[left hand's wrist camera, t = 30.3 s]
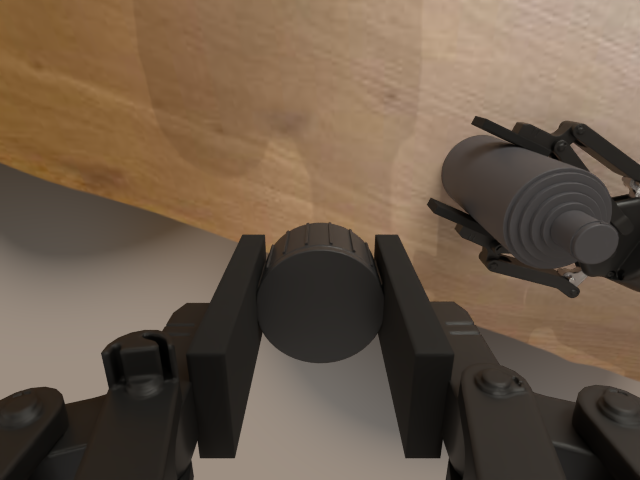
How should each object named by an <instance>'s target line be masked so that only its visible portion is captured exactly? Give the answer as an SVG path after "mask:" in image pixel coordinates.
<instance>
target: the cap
mask: <svg viewBox="0 0 640 480" xmlns="http://www.w3.org/2000/svg"><path fill="white" fill-rule="evenodd" d="M256 304H257V319H258V323H259V326H260V328H261V330H262V332H263V333H264V335H265V337H266V338H267V339H268V340H269V342H270V343H271V344H273V345H274V346H275V347H276V348H277V349H278V350H280V351H281V352H283V353H284V354H286V355H288V356H290V357H292V358H295V359H298V360H301V361H305V362H311V363H329V362H336V361H340V360H343V359H346V358H348V357H351V356H353V355H355V354H357V353H358V352H360V351H361V350H363V349H364V348H365V347H366V346H367V345H368V344H369V343H370V342H371V341H372V340H373V339H374V338H375V336H376V335H377V333H378V332H379V330H380V328H381V326H382V323H383V309H384V293H383V289H382V281H381V277H380V274H379V270H378V267H377V263H376V260H374V258H373V255H372V253H371V251H370V249H369V247H368V244H367V242H365V243H364V241H363V240H362V239H361V238H360V237H358V236H357V235H356V234H355V233H353V232H352V230H351V229H349V230H348V229H346V228H344V227H341V226H338V225H334V224H331V223H330V222H329V223H312V224H309V223H307V224H306V225H303V226H300V227H297V228H295V229H293V230H291V231H289V230H288V231H287V232H286V234H285V235H284V236H282V237H281V238H280V239H279V240H278V241H277V242H276V243H275V245H272V246H271V250H270V253H269V255H268V258H267V260H266V262H265V264H264V268H263V271H262V275H261V278H260V282H259V285H258V292H257V296H256Z"/></svg>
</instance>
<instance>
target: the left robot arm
mask: <svg viewBox="0 0 640 480" xmlns="http://www.w3.org/2000/svg"><path fill="white" fill-rule="evenodd" d="M374 260H376V263H377V267H378V270H379V274H380V277H381V281H382V289H383V293H384V309H383V323H382V326H381V328H380V330H379V332H378V336H379V340H380V345H381V349H382V354H383V358H384V363H385V368H386V372H387V376H388V381H389V386H390V390H391V395H392V399H393V404H394V408H395V413H396V417H397V422H398V427H399V431H400V435H401V440H402V445H403V449H404V454H405V458H440V456H441V449H442V442H443V441H444V444H445V447H446V450H447V453H448V456H449V461H448V468H447V475H446V480H640V398H639V397H637V396H635V395H633V394H631V393H629V392H627V391H624V390H621V389H617V388H614V387H610V386H601V385H593V386H588V387H585V388H583V389H582V390H581V391H580V392H579V393H578V397H577V400H576V402H571V401H566V400H562V399H557V398H552V397H548V396H544V395H541V394H537V393H534V392H532V389H531V387H530V386H529V384H528V383H527V381H526V380H525V379H524V378H523V377H522V376H520V375H519V374H518V373H516V372H515V371H513V370H511V369H509V368H506V367H504V366H501V365H500V364H499V363H498V361H497V360H496V358H495V356H494V355H493V353H492V351H491V350H490V348H489V347H488V345H487V343H486V342H485V340H484V338H483V337H482V335H480V332H479V330H478V329H477V327H476V325H474V322H473V320H472V319H471V317H470V315H469V314H468V312H467V311H466V310H464V309H463V308H462V307H460V306H459V305H457V304H456V303H455V302H430V301H429V299H428V297H427V295H426V293H425V291H424V289H423V287H422V284H421V282H420V280H419V278H418V276H417V274H416V272H415V270H414V268H413V266H412V263H411V261H410V259H409V257H408V255H407V253H406V251H405V249H404V247H403V245H402V242H401V240H400V238H399V236H398V235H375V252H374ZM265 262H266V247H265V235H242V237H241V239H240V241H239V243H238V245H237V247H236V249H235V251H234V254H233V256H232V258H231V260H230V262H229V264H228V266H227V268H226V270H225V272H224V275H223V277H222V279H221V281H220V283H219V285H218V287H217V289H216V291H215V293H214V296H213V298H212V300H211V302H210V303H186V304H185V305H183V306H182V307H181V308H179V309H178V310H177V311H175V312H174V313H173V314H172V316H171V318H170V319H169V321H168V323H167V324H166V327H164V329H163V331H159V330H143V331H137V332H132V333H129V334H127V335H124V336H122V337H119V338H117V339H116V340H114V341H113V342H111V343H110V344H108V345H107V346H106V348H105V349H104V350H103V351H102V353H101V355H102V359H103V364H104V368H105V373H106V377H107V382H108V386H109V390H108V392H107V394H106V395H102V396H99V397H95V398H92V399H87V400H82V401H78V402H73V403H68V404H65V403H64V399H63V396H62V394H61V393H60V392H59V391H58V390H57V389H54V388H49V387H37V388H30V389H26V390H23V391H19V392H16V393H14V394H12V395H10V396H8V397H6V398H4V399H2V400H0V480H193V478H194V475H193V468H192V461H191V458H192V456H193V452H194V449H195V447H196V443H197V441H198V447H199V454H200V458H235V455H236V450H237V446H238V441H239V437H240V432H241V428H242V423H243V419H244V414H245V410H246V405H247V400H248V396H249V391H250V387H251V382H252V378H253V373H254V369H255V364H256V360H257V355H258V351H259V346H260V341H261V337H262V330H261V328H260V326H259V323H258V319H257V304H256V296H257V292H258V285H259V282H260V278H261V275H262V271H263V268H264V264H265Z"/></svg>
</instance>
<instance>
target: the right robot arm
mask: <svg viewBox="0 0 640 480" xmlns="http://www.w3.org/2000/svg"><path fill="white" fill-rule="evenodd" d="M471 124H472V125H474V126H476V127H478V128H481V129H483V130H485V131H487V132H489V133H491V134H493V135H495V136H497V137H499V138H502V139H504V140H506V141H508V142H510V143H512V144H514V145H516V146H519V147H522V148H525V149H527V150H530V151H533V152H536V153H539V154H541V155H544V156H547V157H548V156H549V157H550V158H552V159H555V160H558V161H561V162H563V163H566V164H569V165H572V166H575V167H577V168H580V169H583V170H585V171H588V172H589V170H588V169H587V168H586V166H585V165H584V164H583V162H582V161H581V160H580V158H579V157H578V156H577V154H576V153H575V152H574V150H573V149H572V148H571V146H570V144H572V143H574V144H576V145H577V146H579V147H580V148H581V149H583V150H584V151H585V152H587V153H588V154H589V155H591V156H592V157H594V158H595V159H596V160H598V161H599V162H600V163H602V164H603V165H605V166H606V167H607V168H609V169H610V170H611V171H613V172H615V173H617V174H619V175H622V176H623V177H622V181H623V183H624V185H625V186H627V187H628V188H629V194H626V195H621V196H616V197H610V198H611V203H612V215H611V220H610V225H612V226H613V227H614V228H615V229H616V231H617V232H618V237H619V239H618V245H617V248H616V250H615V252H614V253H613V254H612V255H611V256H610V257H609V258H608V259H607V260H605V261H603V262H601V263H598V264H583V263H581V262H578V261H577V262H575V265H576V268H574V269H571V270H569V269H566V268H563V269H562V268H559V269H557V271H556V270H554V269H540V268H534V267H531V266H528V265H526V264H524V263H522V262H520V261H519V260H518V259H516V258H514V257H510V256H506V255H503V254H501V253H508V254H511V253H510V252H509V251H508V250H507V249H506V248H505V247H504V246H502V245H501V244H500V243H499V242H498V241H497V240H496V239H495V238H494V237H493V236H492V235H491V234H490V233H489V232H488V231H486V230H485V229H484V228H483V227H482V226H481V225H480V224H479V223H478V222H477V221H476V220H475V219H474V218H473V217H472V216H470V215H469V214H467V213H464V212H462V211H460V210H457V209H455V208H453V207H451V206H448V205H446V204H444V203H442V202H439V201H437V200H435V199H433V198H430V200H429V202H428V204H427V205H428V207H429V208H430V209H431V210H432V211H433V213H435V214H437V215H439V216H442V217H444V218H446V219H448V220H451V221H453V222H455V223H458V224H457V225H456V227H455V230H456V231H457V232H458V233H459V234H460V236H461V237H462V238H465V239H467V240H469V241H472V242H474V243H476V244H478V245H481V246H483V248H482V252H480V254H479V259H480V260H481V261H482V263H483V264H484V265H485V266H486V267H487V268H488V269H489V270H490V271H492V272H496V273H500V274H504V275H508V276H511V277H515V278H519V279H523V280H527V281H531V282H535V283H539V284H542V285H546V286H550V287H554V288H557V289H559V290H560V291H561V292H563V293H564V294H565V295H567V296H568V297H570V298H575V297H577V296H578V295H579V293H580V290H579V289H578V288H577V286H578V285H579V284H581V283H582V282H583V281H584V280H585V279H586V278H587V277H588V276H590V277H597V276H600V277H605V278H607V279H609V280H612V281H614V282H616V283H619V284H621V285H623V286H625V287H628V288H630V289H632V290H635V291H637V292H640V165H639V164H638V163H636V162H635V161H634V160H632V159H631V158H630V157H628V156H627V155H626V154H624V153H623V152H622V151H620V150H619V149H618V148H616V147H615V146H614V145H612V144H611V143H609V142H608V141H607V140H605V139H604V138H603V137H601V136H600V135H599V134H597V133H596V132H595V131H593V130H592V129H591V128H589V127H588V126H587V125H585V124H582V123H577V122H572V121H564V122H562V123H561V124H560V125H559V129H558V130H556V131H555V132H554V133H552V134H549V133H547V132H545V131H543V130H541V129H539V128H537V127H535V126H533V125H531V124H527V123H522V122H517V123H516V125H515V126H514V128H513V130H512V131H510V130H508V129H506V128H504V127H502V126H500V125H498V124H496V123H494V122H492V121H490V120H488V119H485V118H481V117H477V116H475V118H474V120H473V121H472V123H471Z"/></svg>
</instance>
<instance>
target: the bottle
mask: <svg viewBox="0 0 640 480" xmlns="http://www.w3.org/2000/svg"><path fill="white" fill-rule="evenodd" d="M442 182H443V186H444V188H445V190H446V192H447V193H448V195H449V196H450V197H451V198H452V199H453V200H454V201H456V202H457V203H458V204H459V205H460V206H461V207H462V208H463V209H464V210H465V211H466V212H467V213H468V214H469V215H470V216H472V217H473V218H474V219H475V220H476V221H477V222H478V223H479V224H480V225H481V226H482V227H483V228H484V229H485V230H486V231H488V232H489V233H490V234H491V235H492V236H493V237H494V238H495V239H496V240H497V241H498V242H499V243H500V244H501V245H502V246H504V247H505V248H506V249H507V250H508V251H509V252H510V253H511V254H512V255H513V256H514V257H515V258H516V259H518V260H519V261H520V262H522V263H524V264H526V265H528V266H531V267H534V268H540V269H554V268H560V267H564V266H567V265H570V264H572V263H575V262H577V261H578V262H581V263H583V264H598V263H601V262H603V261H605V260H607V259H608V258H609V257H610V256H611V255H612V254H613V253H614V252H615V250H616V248H617V245H618V239H619V237H618V232H617V231H616V229H615V228H614V227H613V226H612V225H610V220H611V215H612V203H611V198H610V195H609V192H608V190H607V188H606V186H605V185H604V183H603V182H602V181H601V180H600V179H599V178H598V177H596V176H595V175H594V174H592V173H590V172H588V171H585V170H583V169H580V168H577V167H575V166H572V165H569V164H566V163H563V162H561V161H558V160H555V159H552V158H550V157H547V156H544V155H541V154H539V153H536V152H533V151H530V150H527V149H525V148H522V147H519V146H516V145H514V144H511V143H508V142H505V141H502V140H500V139H497V138H494V137H491V136H486V135H478V136H473V137H470V138H467V139H465V140H463V141H461V142H460V143H458V144H457V145H456V146H455V147H454V148H453V149H452V150H451V151H450V152H449V154H448V155H447V157H446V159H445V161H444V164H443V168H442Z"/></svg>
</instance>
